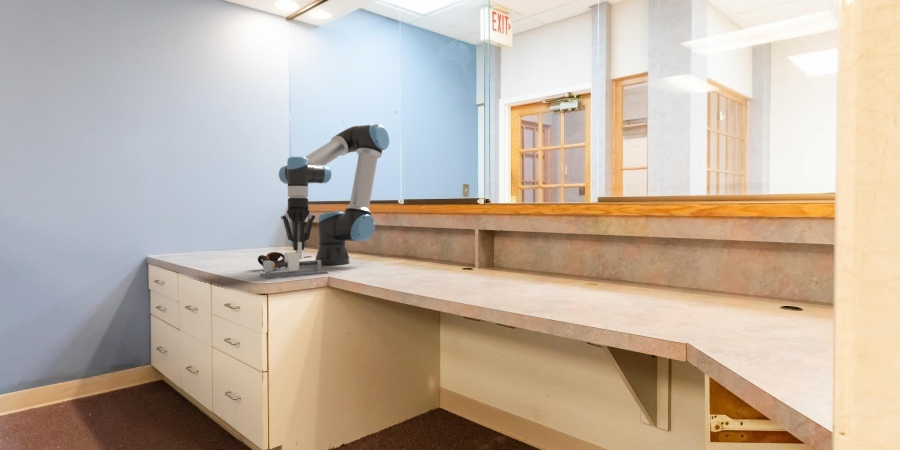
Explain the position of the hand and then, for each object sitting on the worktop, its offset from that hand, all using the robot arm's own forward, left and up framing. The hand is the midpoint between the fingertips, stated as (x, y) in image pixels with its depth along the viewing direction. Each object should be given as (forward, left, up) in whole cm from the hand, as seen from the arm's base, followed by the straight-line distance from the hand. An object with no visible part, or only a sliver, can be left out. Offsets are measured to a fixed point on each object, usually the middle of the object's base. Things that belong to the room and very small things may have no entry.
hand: (298, 258), depth 197 cm
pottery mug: (+4, -21, -6) cm, 22 cm away
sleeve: (+3, 0, -4) cm, 5 cm away
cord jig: (+2, 0, -6) cm, 6 cm away
